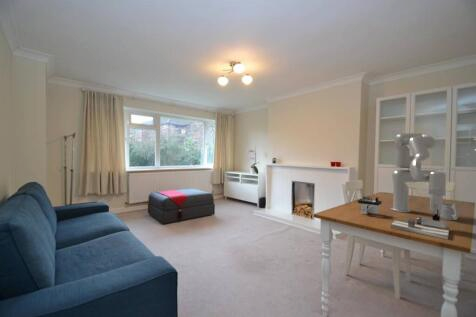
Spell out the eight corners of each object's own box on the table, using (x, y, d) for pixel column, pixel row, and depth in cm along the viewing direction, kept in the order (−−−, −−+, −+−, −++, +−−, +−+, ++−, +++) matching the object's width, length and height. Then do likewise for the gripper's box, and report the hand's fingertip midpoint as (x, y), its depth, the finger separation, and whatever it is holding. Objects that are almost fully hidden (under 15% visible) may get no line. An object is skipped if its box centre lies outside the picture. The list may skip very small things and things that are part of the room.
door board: (397, 221, 148) (397, 212, 148) (449, 230, 130) (449, 220, 130) (390, 227, 135) (391, 217, 135) (447, 239, 117) (447, 228, 117)
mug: (448, 217, 157) (448, 200, 156) (463, 222, 145) (464, 204, 144) (436, 217, 157) (437, 200, 157) (451, 222, 145) (451, 204, 145)
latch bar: (416, 223, 136) (416, 217, 135) (417, 222, 137) (417, 217, 137) (445, 228, 126) (445, 222, 126) (445, 227, 128) (445, 221, 128)
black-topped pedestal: (342, 213, 167) (342, 196, 166) (356, 207, 184) (356, 191, 184) (385, 222, 146) (386, 202, 145) (397, 215, 163) (397, 196, 163)
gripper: (430, 189, 142) (429, 218, 143) (427, 193, 132) (426, 223, 132) (446, 191, 137) (445, 221, 138) (444, 194, 127) (443, 227, 127)
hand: (436, 222), depth 135 cm, fingers closed
